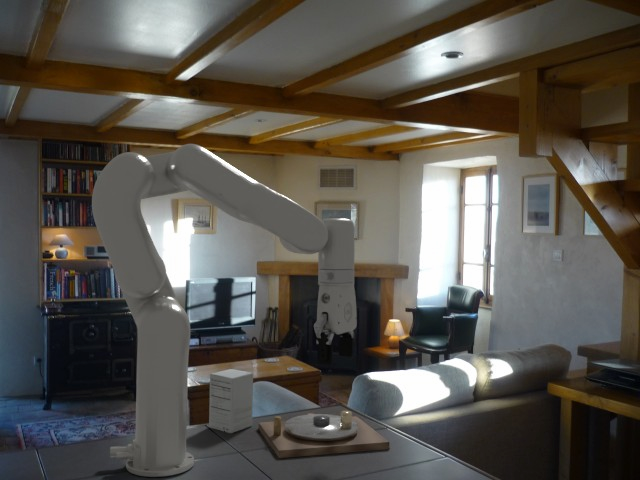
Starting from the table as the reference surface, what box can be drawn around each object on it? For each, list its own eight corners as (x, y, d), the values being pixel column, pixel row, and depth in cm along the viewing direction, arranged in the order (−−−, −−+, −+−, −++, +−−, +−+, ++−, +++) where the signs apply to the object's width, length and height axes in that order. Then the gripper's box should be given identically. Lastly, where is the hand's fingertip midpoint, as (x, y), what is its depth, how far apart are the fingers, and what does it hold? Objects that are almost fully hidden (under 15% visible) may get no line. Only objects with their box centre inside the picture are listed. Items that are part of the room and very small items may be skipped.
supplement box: (230, 420, 153) (231, 368, 153) (253, 426, 148) (254, 372, 148) (207, 427, 147) (208, 372, 147) (231, 434, 142) (232, 377, 142)
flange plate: (295, 443, 130) (296, 420, 130) (276, 420, 147) (277, 400, 147) (368, 437, 135) (368, 415, 135) (342, 416, 151) (342, 396, 151)
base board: (278, 458, 127) (279, 431, 127) (258, 428, 146) (259, 405, 146) (389, 448, 134) (389, 423, 134) (356, 422, 154) (356, 400, 154)
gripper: (333, 280, 123) (333, 369, 123) (369, 276, 138) (368, 354, 138) (299, 279, 126) (299, 365, 126) (338, 275, 142) (338, 351, 142)
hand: (335, 359), depth 132 cm, fingers open, 9 cm apart
